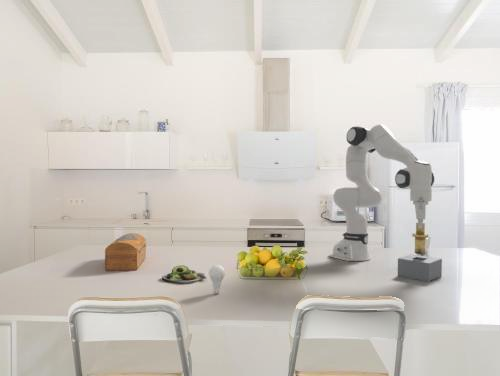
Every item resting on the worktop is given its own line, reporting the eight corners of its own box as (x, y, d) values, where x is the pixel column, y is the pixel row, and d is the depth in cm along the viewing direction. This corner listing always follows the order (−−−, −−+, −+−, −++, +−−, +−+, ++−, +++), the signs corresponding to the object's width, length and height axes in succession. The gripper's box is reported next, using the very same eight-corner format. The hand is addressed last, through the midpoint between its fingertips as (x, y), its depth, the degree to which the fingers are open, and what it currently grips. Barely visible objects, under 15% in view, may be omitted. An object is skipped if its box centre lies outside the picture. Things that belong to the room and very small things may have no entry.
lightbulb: (209, 291, 154) (209, 263, 154) (224, 291, 155) (224, 263, 155) (208, 296, 148) (208, 267, 148) (225, 295, 149) (225, 266, 149)
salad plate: (217, 277, 177) (217, 267, 177) (192, 287, 161) (192, 276, 161) (183, 272, 186) (183, 262, 186) (156, 281, 171) (156, 270, 171)
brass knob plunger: (409, 253, 180) (409, 223, 179) (415, 251, 184) (416, 222, 184) (424, 255, 175) (424, 224, 174) (430, 253, 179) (431, 223, 179)
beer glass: (431, 269, 193) (432, 238, 192) (416, 268, 194) (417, 238, 193) (428, 266, 199) (429, 236, 199) (413, 265, 201) (414, 236, 200)
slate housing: (397, 275, 180) (397, 258, 180) (411, 270, 190) (411, 254, 189) (429, 281, 170) (429, 263, 170) (441, 276, 180) (441, 258, 179)
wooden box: (116, 258, 216) (116, 233, 216) (147, 257, 218) (147, 232, 218) (101, 271, 187) (101, 242, 186) (137, 270, 188) (137, 241, 188)
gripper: (429, 198, 168) (428, 230, 168) (427, 196, 187) (427, 225, 187) (413, 198, 170) (412, 230, 171) (413, 195, 189) (412, 224, 190)
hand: (420, 227), depth 179 cm, fingers closed on brass knob plunger, 3 cm apart
